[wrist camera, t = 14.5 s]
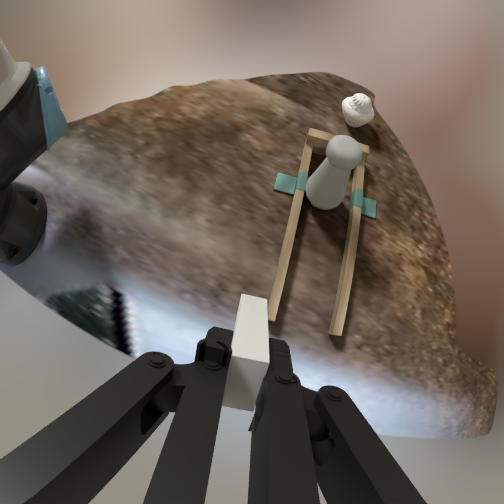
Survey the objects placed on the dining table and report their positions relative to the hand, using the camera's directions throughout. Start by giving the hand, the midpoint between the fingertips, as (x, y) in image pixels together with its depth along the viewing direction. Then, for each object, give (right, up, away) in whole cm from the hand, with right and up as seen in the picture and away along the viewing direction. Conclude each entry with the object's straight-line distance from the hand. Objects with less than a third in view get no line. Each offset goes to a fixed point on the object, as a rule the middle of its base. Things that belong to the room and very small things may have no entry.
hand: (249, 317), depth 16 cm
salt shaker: (+11, +12, +25) cm, 30 cm away
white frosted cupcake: (+19, +28, +30) cm, 45 cm away
